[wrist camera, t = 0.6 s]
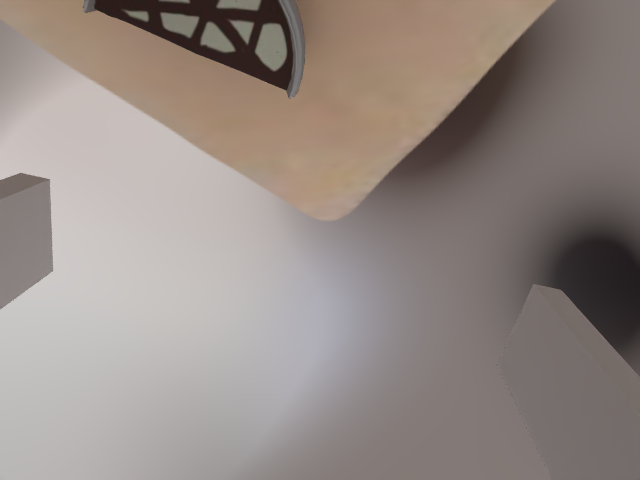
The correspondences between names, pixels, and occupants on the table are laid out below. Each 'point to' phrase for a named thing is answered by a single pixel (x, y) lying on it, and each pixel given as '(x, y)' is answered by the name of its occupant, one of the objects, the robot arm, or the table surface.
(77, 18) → the table surface
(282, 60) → the food container
